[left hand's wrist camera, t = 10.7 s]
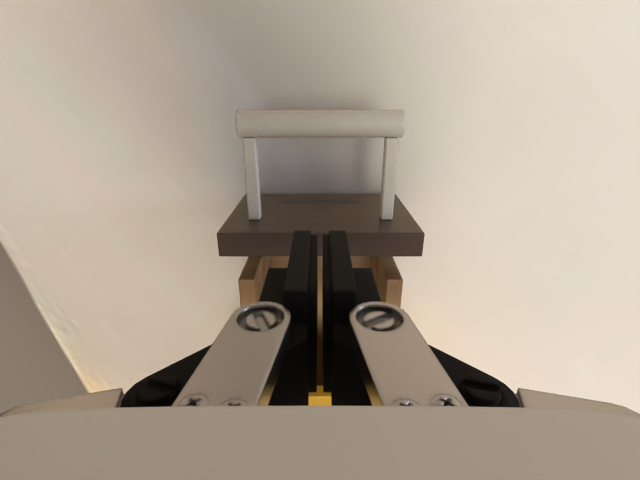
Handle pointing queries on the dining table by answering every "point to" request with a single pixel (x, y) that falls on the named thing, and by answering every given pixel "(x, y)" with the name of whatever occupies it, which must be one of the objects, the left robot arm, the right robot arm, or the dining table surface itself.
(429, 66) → the dining table surface
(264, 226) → the drawer
